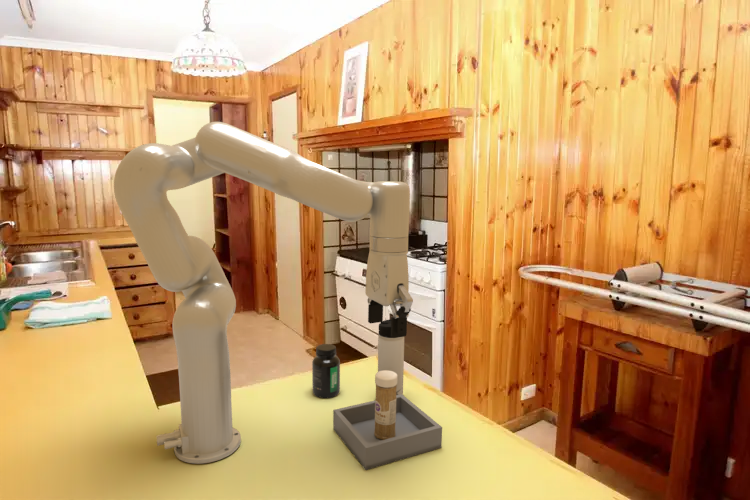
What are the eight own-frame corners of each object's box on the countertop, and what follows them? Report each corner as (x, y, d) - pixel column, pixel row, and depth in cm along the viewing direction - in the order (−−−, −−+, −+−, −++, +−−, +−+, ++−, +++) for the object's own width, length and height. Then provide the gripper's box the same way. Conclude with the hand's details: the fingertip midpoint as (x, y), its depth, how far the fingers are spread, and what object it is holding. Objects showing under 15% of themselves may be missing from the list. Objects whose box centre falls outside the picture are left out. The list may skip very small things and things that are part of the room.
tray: (365, 470, 89) (366, 448, 89) (333, 429, 103) (333, 409, 103) (441, 447, 97) (442, 427, 96) (401, 412, 111) (402, 394, 110)
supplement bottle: (341, 398, 118) (341, 351, 116) (313, 399, 117) (312, 352, 115) (338, 385, 124) (338, 341, 123) (312, 387, 123) (311, 342, 121)
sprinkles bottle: (369, 435, 100) (370, 374, 98) (383, 426, 103) (384, 367, 101) (386, 443, 97) (388, 380, 95) (400, 434, 100) (402, 373, 98)
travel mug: (402, 406, 114) (404, 325, 111) (375, 403, 115) (376, 323, 112) (405, 394, 120) (407, 317, 117) (380, 392, 121) (381, 315, 118)
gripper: (353, 240, 100) (351, 319, 102) (393, 253, 84) (390, 346, 87) (384, 238, 103) (382, 315, 106) (429, 250, 88) (425, 340, 90)
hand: (386, 329), depth 96 cm, fingers open, 9 cm apart
